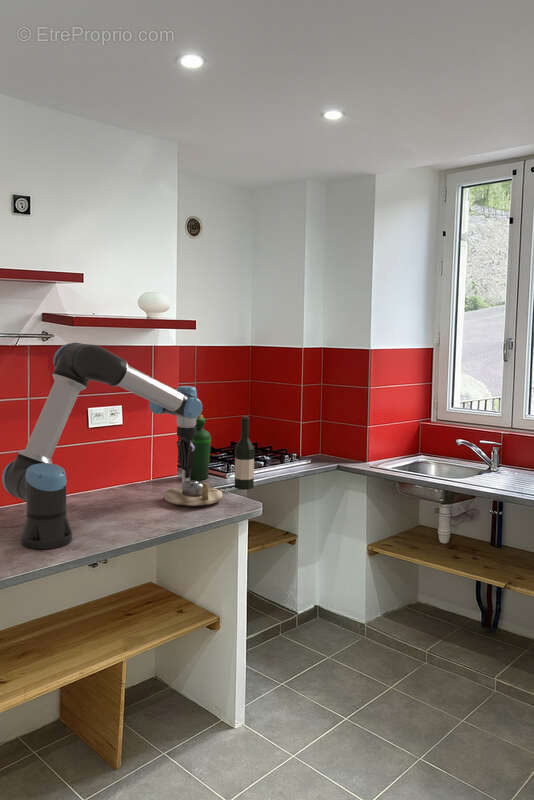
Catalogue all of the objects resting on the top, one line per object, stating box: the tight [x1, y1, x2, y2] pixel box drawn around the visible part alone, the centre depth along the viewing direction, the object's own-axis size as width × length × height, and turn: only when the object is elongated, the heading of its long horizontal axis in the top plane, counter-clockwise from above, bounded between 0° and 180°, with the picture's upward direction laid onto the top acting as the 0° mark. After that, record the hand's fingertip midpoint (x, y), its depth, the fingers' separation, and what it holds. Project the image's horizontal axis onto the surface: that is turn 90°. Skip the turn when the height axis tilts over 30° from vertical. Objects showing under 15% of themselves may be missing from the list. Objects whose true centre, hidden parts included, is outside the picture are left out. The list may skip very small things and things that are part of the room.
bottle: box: [190, 414, 212, 481], centre depth 285 cm, size 11×11×28 cm
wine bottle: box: [234, 415, 255, 491], centre depth 272 cm, size 8×8×30 cm
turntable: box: [164, 482, 223, 506], centre depth 250 cm, size 22×22×8 cm
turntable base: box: [175, 503, 214, 508], centre depth 251 cm, size 16×16×1 cm
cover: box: [181, 480, 206, 497], centre depth 250 cm, size 9×9×5 cm
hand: (186, 485), depth 256 cm, fingers closed
